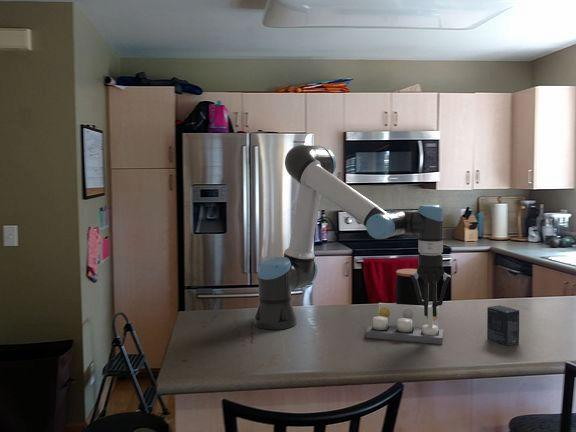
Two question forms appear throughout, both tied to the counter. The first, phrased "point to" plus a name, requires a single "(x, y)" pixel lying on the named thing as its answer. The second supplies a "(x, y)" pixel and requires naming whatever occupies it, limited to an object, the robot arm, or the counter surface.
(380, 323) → the button left
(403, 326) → the button mid
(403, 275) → the coffee jar
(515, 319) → the box
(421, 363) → the counter surface
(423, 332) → the button right
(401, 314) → the pattern card
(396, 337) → the board
